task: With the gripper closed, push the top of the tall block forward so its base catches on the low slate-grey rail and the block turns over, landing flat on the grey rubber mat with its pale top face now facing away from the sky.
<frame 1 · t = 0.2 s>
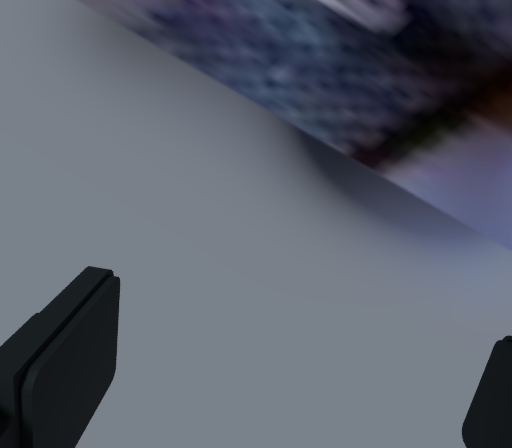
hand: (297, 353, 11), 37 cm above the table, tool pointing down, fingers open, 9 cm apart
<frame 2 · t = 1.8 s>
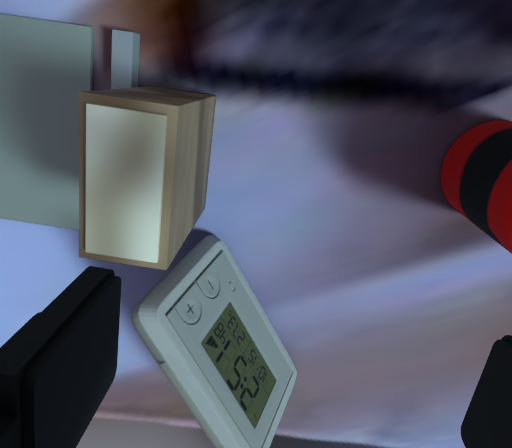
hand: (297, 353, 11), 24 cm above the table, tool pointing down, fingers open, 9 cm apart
soda can: (488, 169, 33), on the table
rail: (126, 141, 34), on the table
mat: (18, 125, 34), on the table
block: (179, 149, 34), on the table
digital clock: (235, 313, 39), on the table
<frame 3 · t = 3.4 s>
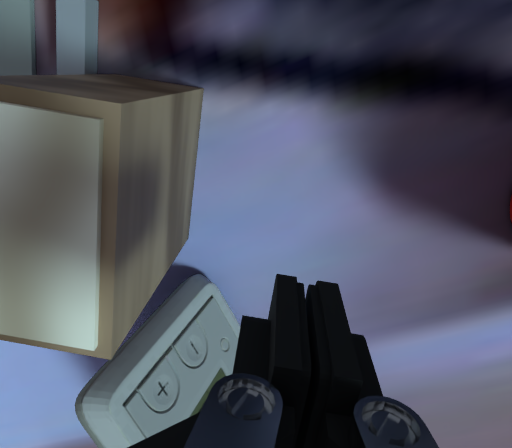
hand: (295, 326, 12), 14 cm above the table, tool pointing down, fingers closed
rail: (82, 149, 25), on the table
block: (153, 160, 25), on the table
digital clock: (229, 370, 30), on the table
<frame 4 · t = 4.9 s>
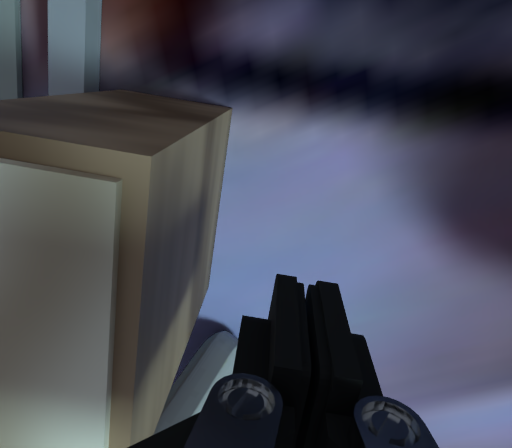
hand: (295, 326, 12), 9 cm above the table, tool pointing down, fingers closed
rail: (80, 180, 21), on the table
block: (168, 195, 21), on the table
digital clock: (254, 438, 25), on the table
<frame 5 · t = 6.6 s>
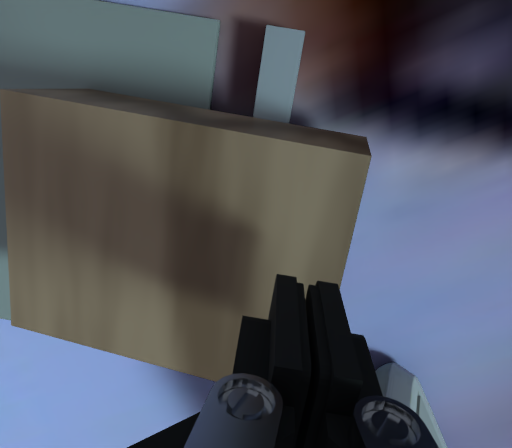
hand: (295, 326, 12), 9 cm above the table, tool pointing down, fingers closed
rail: (256, 213, 20), on the table
mat: (75, 183, 20), on the table
block: (340, 265, 16), point 5 cm above the table, tilted 99°, touching mat, rail
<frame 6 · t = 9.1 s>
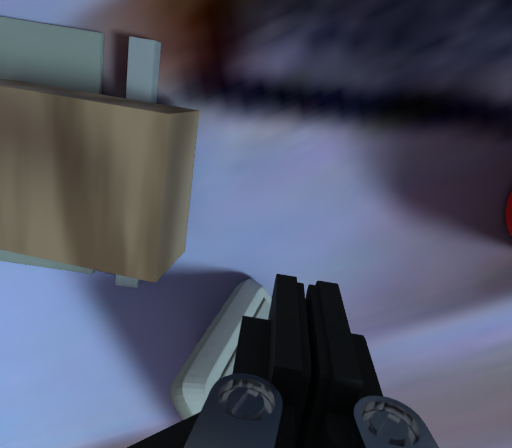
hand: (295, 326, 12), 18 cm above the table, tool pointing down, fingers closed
rail: (140, 169, 29), on the table
mat: (8, 149, 28), on the table
block: (178, 193, 24), point 5 cm above the table, tilted 99°, touching mat, rail
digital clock: (268, 365, 34), on the table
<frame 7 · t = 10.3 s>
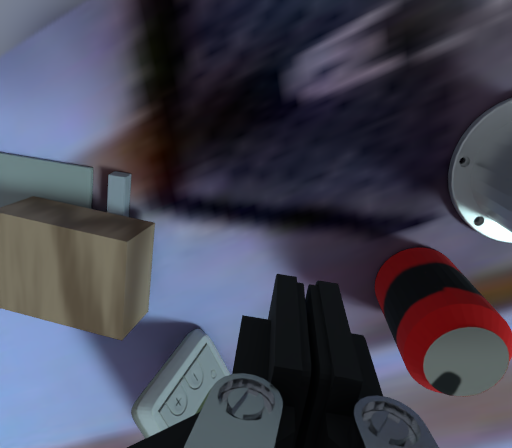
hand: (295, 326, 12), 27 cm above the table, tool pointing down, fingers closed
soda can: (413, 281, 41), on the table
rail: (118, 253, 41), on the table
mat: (29, 238, 41), on the table
block: (138, 280, 37), point 5 cm above the table, tilted 99°, touching mat, rail
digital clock: (215, 388, 46), on the table
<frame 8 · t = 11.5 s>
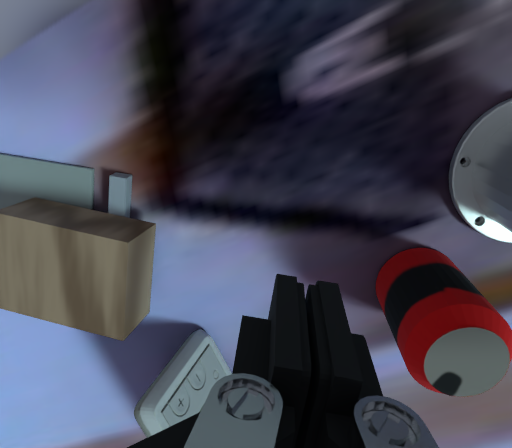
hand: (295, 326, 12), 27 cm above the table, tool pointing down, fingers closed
soda can: (414, 282, 41), on the table
rail: (120, 254, 41), on the table
mat: (31, 239, 41), on the table
block: (139, 281, 37), point 5 cm above the table, tilted 99°, touching mat, rail
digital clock: (217, 388, 46), on the table
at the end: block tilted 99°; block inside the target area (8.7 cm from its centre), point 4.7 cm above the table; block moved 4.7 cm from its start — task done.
